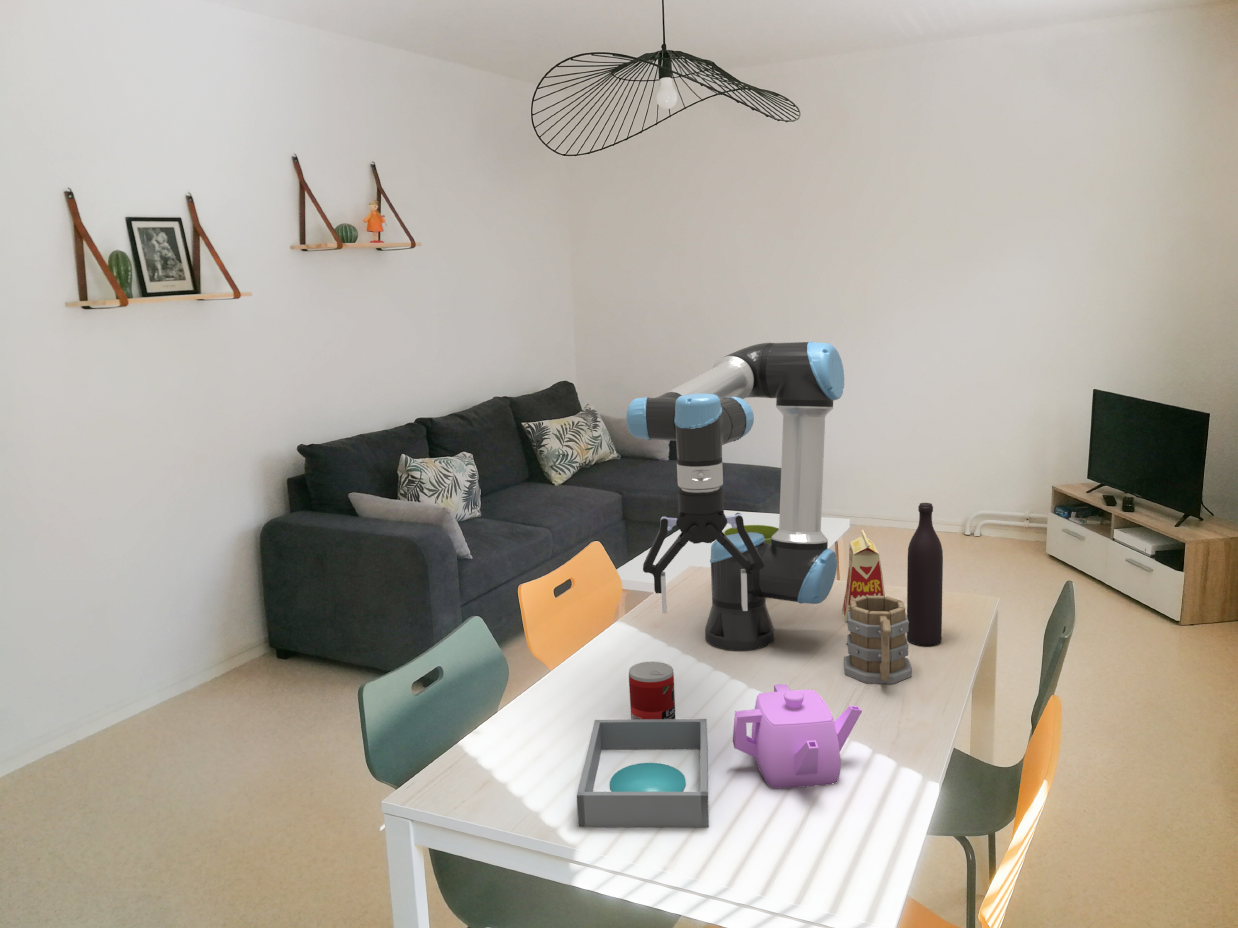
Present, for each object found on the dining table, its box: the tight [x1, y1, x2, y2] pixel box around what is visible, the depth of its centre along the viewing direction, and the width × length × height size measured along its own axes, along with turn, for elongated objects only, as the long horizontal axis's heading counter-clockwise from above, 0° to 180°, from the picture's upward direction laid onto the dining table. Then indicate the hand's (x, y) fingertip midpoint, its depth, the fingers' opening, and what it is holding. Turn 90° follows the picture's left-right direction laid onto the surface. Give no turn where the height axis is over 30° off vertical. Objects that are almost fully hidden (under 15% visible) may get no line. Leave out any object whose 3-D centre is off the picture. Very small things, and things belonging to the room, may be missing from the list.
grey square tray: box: [576, 718, 710, 828], centre depth 147 cm, size 24×19×5 cm
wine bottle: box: [906, 502, 944, 647], centre depth 196 cm, size 7×7×30 cm
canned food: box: [628, 661, 676, 720], centre depth 165 cm, size 8×8×11 cm
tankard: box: [843, 595, 913, 685], centre depth 180 cm, size 20×13×15 cm, turn 169°
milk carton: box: [841, 529, 886, 623], centre depth 213 cm, size 9×9×20 cm
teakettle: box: [732, 683, 863, 789], centre depth 149 cm, size 17×17×12 cm
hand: (704, 609), depth 158 cm, fingers open, 13 cm apart
